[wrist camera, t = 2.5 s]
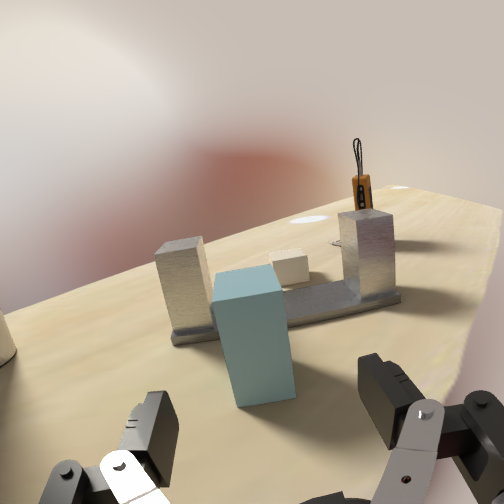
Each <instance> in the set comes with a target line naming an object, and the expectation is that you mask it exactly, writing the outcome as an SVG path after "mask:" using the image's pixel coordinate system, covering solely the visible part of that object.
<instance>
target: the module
mask: <svg viewBox="0 0 504 504" xmlns="http://www.w3.org/2000/svg"><path fill="white" fill-rule="evenodd" d="M212 305H213V309H214V314H215V318H216V323H217V327H218V331H219V336H220V340H221V344H222V348H223V353H224V357H225V361H226V365H227V369H228V373H229V377H230V381H231V385H232V389H233V393H234V397H235V401H236V404H237V408H238V407H245V406H252V405H258V404H265V403H270V402H276V401H282V400H287V399H292V398H296V392H295V384H294V375H293V367H292V359H291V351H290V343H289V336H288V328H287V320H286V313H285V305H284V298H283V290H282V288H281V285H280V283H279V281H278V279H277V276H276V274H275V272H274V269H273V267H272V265H271V264H268V265H262V266H256V267H250V268H244V269H238V270H232V271H227V272H221V273H216V276H215V283H214V290H213V297H212Z"/></svg>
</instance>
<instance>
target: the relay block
mask: <svg viewBox="0 0 504 504" xmlns="http://www.w3.org/2000/svg"><path fill="white" fill-rule="evenodd" d="M268 257H269V263H270V264H271V265H272V267H273V269H274V272H275V274H276V276H277V279H278V281H279V283H280V285H281V286H285V285H291V284H296V283H301V282H307V281H310V276H309V267H308V258H307V254H306V253H305V252H304V251H303V250H302V249H301V248H300V247H298V248H292V249H287V250H281V251H275V252H269V253H268Z"/></svg>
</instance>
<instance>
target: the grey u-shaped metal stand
mask: <svg viewBox="0 0 504 504" xmlns="http://www.w3.org/2000/svg"><path fill="white" fill-rule="evenodd" d="M338 220H339V229H340V240H341V251H342V263H343V276H344V280H340V281H335V282H330V283H325V284H320V285H314V286H309V287H304V288H298V289H293V290H288V291H283V298H284V305H285V313H286V320H287V328H289V327H294V326H299V325H304V324H309V323H314V322H319V321H324V320H329V319H333V318H338V317H342V316H347V315H351V314H356V313H360V312H364V311H368V310H372V309H377V308H381V307H385V306H389V305H393V304H396V303H400V302H401V294H400V293H399V292H398V291H396V278H395V243H394V225H393V215H392V214H388V213H385V212H382V211H378V210H375V209H371V208H370V209H363V210H357V211H350V212H343V213H338ZM154 257H155V262H156V266H157V270H158V274H159V278H160V282H161V286H162V290H163V294H164V298H165V302H166V305H167V309H168V313H169V316H170V320H171V324H172V327H173V332H172V335H171V341H172V344H173V345H181V344H189V343H197V342H204V341H211V340H218V339H220V336H219V331H218V327H217V323H216V318H215V314H214V309H213V305H212V297H213V289H212V284H211V279H210V274H209V269H208V264H207V259H206V254H205V249H204V244H203V239H202V236H197V237H192V238H186V239H181V240H175V241H170V242H165V243H164V244H163V246H161V247H160V249H159V250H158V251H157V252H156V253H155V254H154Z"/></svg>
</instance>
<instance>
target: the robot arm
mask: <svg viewBox="0 0 504 504" xmlns="http://www.w3.org/2000/svg"><path fill="white" fill-rule="evenodd" d="M15 352H16V346H15V344H14V342H13V339H12V337H11V334H10V332H9V329H8V327H7V324H6V321H5V319H4V316H3V313H2V311H1V308H0V366H1V365H3V364H4V363H6V362H7V361H8V360H9V359H11V357H12V356H13V355H14V354H15ZM358 391H359V395H360V398H361V400H362V402H363V404H364V406H365V407H366V409H367V411H368V413H369V415H370V417H371V418H372V420H373V422H374V424H375V426H376V428H377V429H378V431H379V433H380V435H381V437H382V439H383V441H384V442H385V444H386V446H387V448H388V450H392V449H393V451H392V454H391V456H390V459H389V461H388V464H387V466H386V469H385V471H384V474H383V476H382V478H381V481H380V483H379V485H378V488H377V490H376V492H375V494H374V497H373V499H372V501H371V500H366V499H359V498H344V495H343V492H342V491H341V492H337V493H333V494H329V495H325V496H321V497H316V498H312V499H310V500H307V501H305V502H303V503H300V504H424V501H425V498H426V494H427V491H428V488H429V484H430V481H431V477H432V474H433V470H434V465H435V462H436V459H442V458H448V457H452V459H453V461H454V462H455V464H456V466H457V467H458V469H459V471H460V472H461V474H462V476H463V478H464V479H465V481H466V483H467V485H468V486H469V488H470V490H471V492H472V493H473V495H474V497H475V499H476V500H477V502H478V504H504V406H503V405H502V403H501V402H500V401H499V400H498V399H497V398H496V397H495V396H494V395H493V394H492V393H490V392H487V391H483V390H479V391H474V392H471V393H470V394H468V395H467V396H466V398H465V400H464V404H459V405H453V406H446V407H443V405H442V404H441V403H440V402H438V401H436V400H433V399H426V398H425V397H424V396H423V394H422V393H421V392H420V391H419V389H418V388H417V387H416V386H415V385H414V383H413V382H412V381H411V380H410V379H409V377H408V376H407V375H406V374H405V372H404V371H403V370H402V369H401V367H400V366H399V365H397V364H395V363H393V362H391V361H386V362H383V361H382V360H381V358H380V357H379V356H378V354H377V353H373V354H369V355H366V356H362V357H359V358H358ZM178 432H179V422H178V418H177V415H176V413H175V410H174V408H173V405H172V403H171V400H170V398H169V395H168V393H167V392H166V391H153V392H148V393H147V396H146V399H145V401H144V403H143V404H138V405H137V406H136V407H135V408H134V409H133V410H132V411H131V414H130V416H129V419H128V422H127V424H126V428H125V430H124V432H123V435H122V438H121V441H120V443H119V446H118V449H117V451H116V452H113V453H111V454H109V455H107V456H106V457H105V458H104V459H103V461H102V463H101V465H98V466H93V467H87V468H82V466H81V465H80V464H79V463H78V462H77V461H74V460H65V461H62V462H60V463H58V464H57V465H56V466H55V467H54V468H53V470H52V472H51V475H50V477H49V479H48V482H47V484H46V487H45V489H44V492H43V494H42V497H41V499H40V502H39V504H170V503H169V502H168V501H167V499H166V498H165V497H164V496H163V494H162V493H161V492H160V491H159V488H160V487H169V486H170V479H171V473H172V467H173V461H174V455H175V449H176V444H177V438H178Z"/></svg>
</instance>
